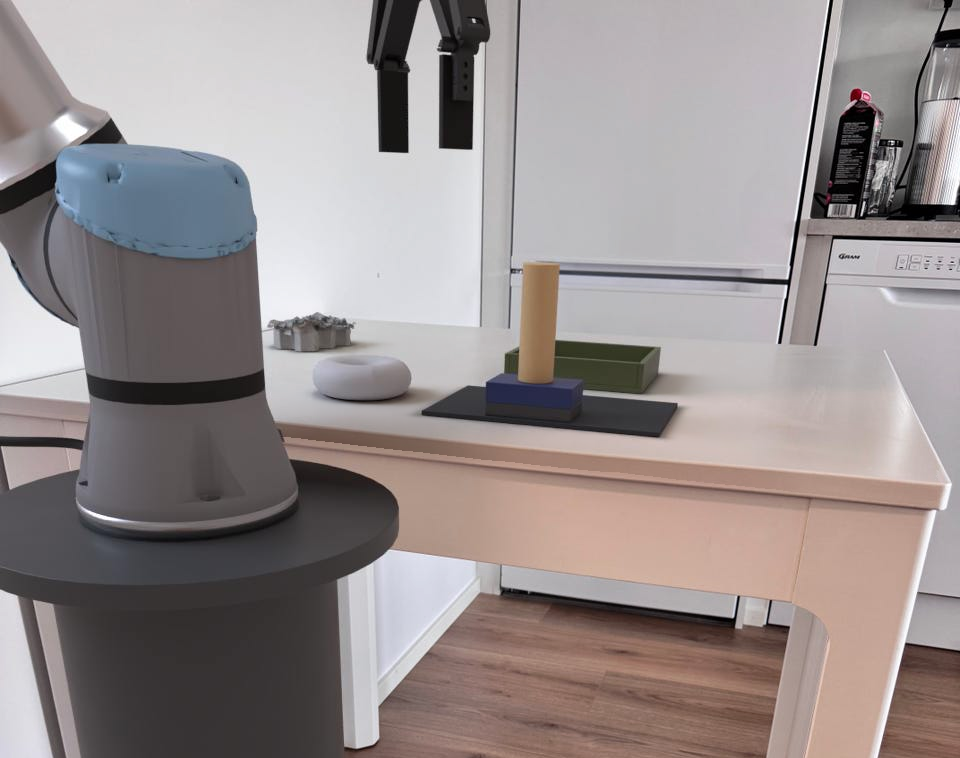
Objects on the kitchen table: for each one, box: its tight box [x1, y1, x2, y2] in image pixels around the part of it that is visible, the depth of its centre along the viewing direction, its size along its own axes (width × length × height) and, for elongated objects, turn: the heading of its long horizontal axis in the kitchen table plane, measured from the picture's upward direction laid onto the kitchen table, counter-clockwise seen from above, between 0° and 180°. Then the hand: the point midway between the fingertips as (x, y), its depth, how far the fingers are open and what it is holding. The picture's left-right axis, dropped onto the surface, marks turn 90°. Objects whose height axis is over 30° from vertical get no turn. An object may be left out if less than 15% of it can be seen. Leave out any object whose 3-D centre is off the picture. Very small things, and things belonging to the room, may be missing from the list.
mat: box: [421, 385, 679, 438], centre depth 91 cm, size 22×14×1 cm, turn 73°
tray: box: [503, 339, 662, 395], centre depth 107 cm, size 15×13×3 cm
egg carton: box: [267, 311, 357, 353], centre depth 124 cm, size 11×8×4 cm
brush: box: [485, 261, 584, 423], centre depth 85 cm, size 8×5×13 cm, turn 73°
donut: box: [311, 354, 413, 401], centre depth 96 cm, size 10×4×10 cm
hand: (422, 151), depth 83 cm, fingers open, 13 cm apart
